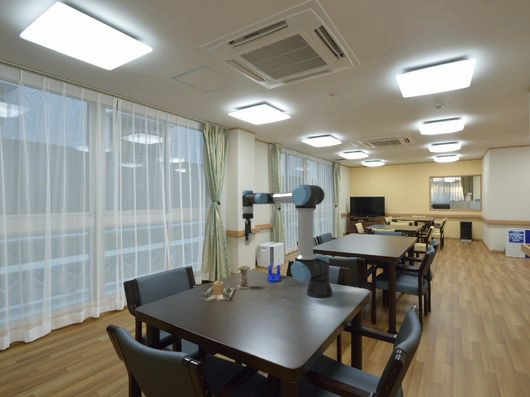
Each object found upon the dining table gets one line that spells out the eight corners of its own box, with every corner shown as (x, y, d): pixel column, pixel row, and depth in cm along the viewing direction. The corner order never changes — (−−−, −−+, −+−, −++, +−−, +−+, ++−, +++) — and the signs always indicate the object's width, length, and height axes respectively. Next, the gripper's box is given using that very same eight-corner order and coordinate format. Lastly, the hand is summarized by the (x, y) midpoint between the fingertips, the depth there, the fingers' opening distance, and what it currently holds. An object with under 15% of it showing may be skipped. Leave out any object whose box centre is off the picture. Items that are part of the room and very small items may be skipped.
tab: (223, 291, 172) (223, 280, 172) (221, 294, 167) (221, 282, 167) (215, 291, 172) (215, 280, 173) (213, 294, 167) (213, 282, 168)
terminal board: (234, 289, 179) (234, 284, 179) (229, 300, 159) (229, 294, 159) (209, 289, 180) (209, 283, 180) (201, 300, 160) (201, 294, 160)
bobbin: (250, 285, 188) (250, 266, 188) (249, 289, 180) (249, 268, 180) (238, 285, 188) (238, 266, 188) (236, 289, 180) (236, 268, 180)
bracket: (269, 276, 213) (269, 264, 213) (280, 276, 212) (280, 264, 212) (266, 282, 195) (266, 269, 195) (278, 283, 194) (278, 269, 194)
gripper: (244, 212, 207) (244, 241, 207) (239, 213, 182) (240, 246, 182) (254, 212, 207) (255, 241, 207) (251, 213, 182) (251, 246, 182)
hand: (248, 244), depth 194 cm, fingers open, 13 cm apart
